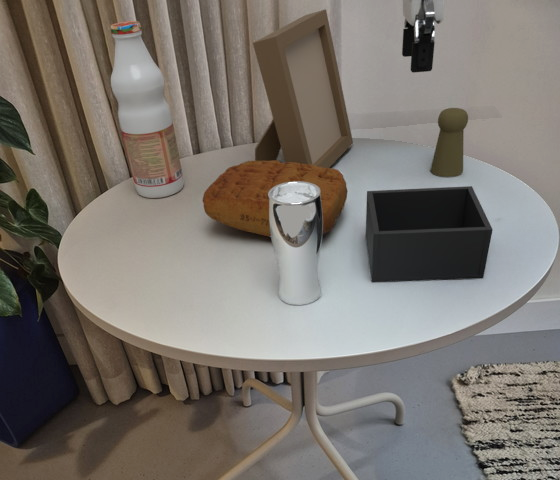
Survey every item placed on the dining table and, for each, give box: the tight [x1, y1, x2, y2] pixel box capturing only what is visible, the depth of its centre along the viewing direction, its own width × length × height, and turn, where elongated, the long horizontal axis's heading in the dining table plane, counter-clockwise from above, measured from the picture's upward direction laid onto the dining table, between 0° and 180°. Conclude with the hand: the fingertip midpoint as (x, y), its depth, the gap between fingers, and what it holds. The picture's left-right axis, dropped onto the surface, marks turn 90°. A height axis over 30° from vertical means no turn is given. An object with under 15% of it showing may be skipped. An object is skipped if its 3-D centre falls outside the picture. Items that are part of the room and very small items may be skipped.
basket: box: [365, 185, 494, 283], centre depth 84 cm, size 16×14×8 cm
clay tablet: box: [202, 160, 348, 238], centre depth 95 cm, size 22×17×8 cm
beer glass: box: [268, 181, 324, 306], centre depth 76 cm, size 7×7×15 cm
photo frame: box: [252, 8, 354, 168], centre depth 108 cm, size 15×22×25 cm
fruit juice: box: [110, 20, 185, 199], centre depth 103 cm, size 9×9×28 cm
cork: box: [429, 107, 469, 178], centre depth 105 cm, size 6×6×11 cm
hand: (416, 63), depth 92 cm, fingers open, 9 cm apart
